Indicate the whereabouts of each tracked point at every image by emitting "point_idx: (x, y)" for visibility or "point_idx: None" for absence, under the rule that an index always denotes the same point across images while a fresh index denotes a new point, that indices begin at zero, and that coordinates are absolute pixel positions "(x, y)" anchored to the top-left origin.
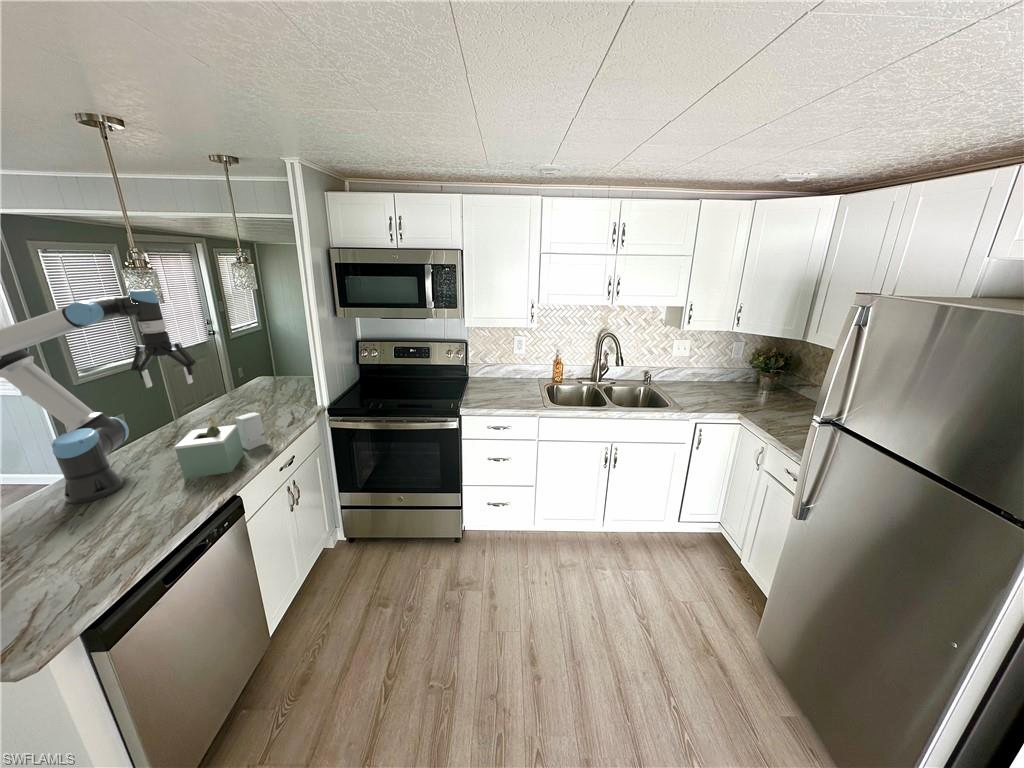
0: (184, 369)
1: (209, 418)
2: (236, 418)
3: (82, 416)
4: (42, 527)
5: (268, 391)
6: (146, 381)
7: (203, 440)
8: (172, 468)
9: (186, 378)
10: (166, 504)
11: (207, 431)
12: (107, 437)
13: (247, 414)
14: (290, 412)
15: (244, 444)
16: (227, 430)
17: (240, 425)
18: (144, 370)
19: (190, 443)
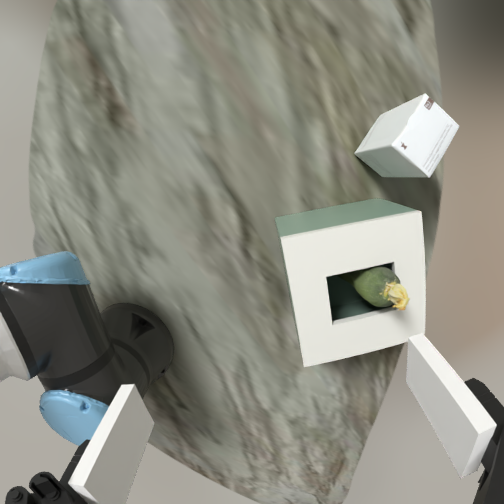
0: (460, 466)
1: (402, 308)
2: (400, 153)
3: (5, 373)
4: (154, 423)
5: None
6: (138, 456)
7: (370, 333)
8: (222, 259)
9: (423, 410)
10: (315, 397)
11: (374, 304)
12: (100, 367)
13: (421, 120)
14: None
15: (374, 166)
16: (412, 262)
17: (403, 167)
18: (84, 498)
19: (341, 350)
